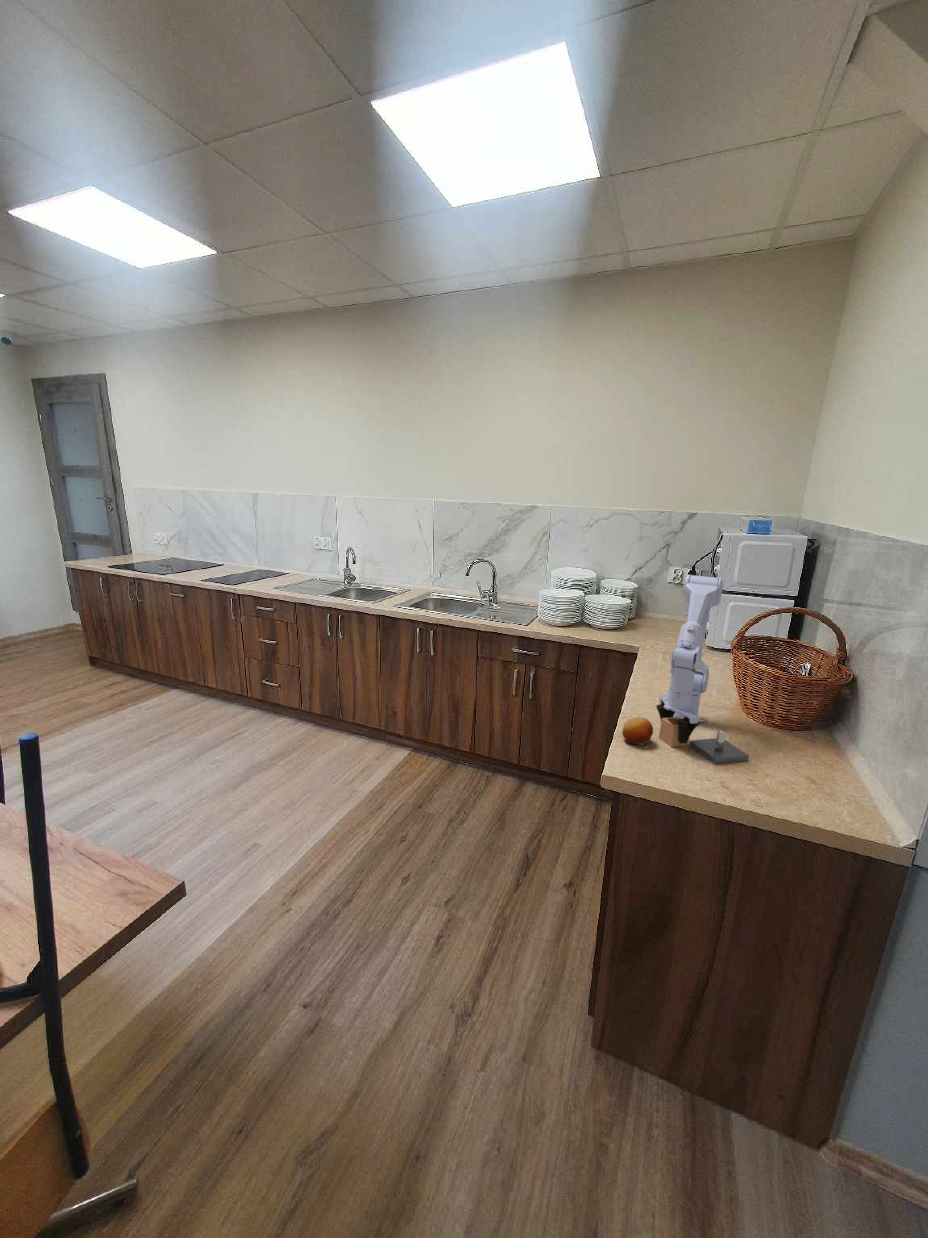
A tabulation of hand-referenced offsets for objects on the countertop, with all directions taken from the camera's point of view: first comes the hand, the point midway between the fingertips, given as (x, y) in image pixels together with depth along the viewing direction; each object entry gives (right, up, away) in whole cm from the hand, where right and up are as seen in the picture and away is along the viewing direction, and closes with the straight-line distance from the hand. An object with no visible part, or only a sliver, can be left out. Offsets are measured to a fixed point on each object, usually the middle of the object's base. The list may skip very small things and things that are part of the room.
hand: (674, 736), depth 141 cm
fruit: (-10, -2, 0) cm, 11 cm away
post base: (+10, -3, -5) cm, 11 cm away
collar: (0, -2, 0) cm, 2 cm away
